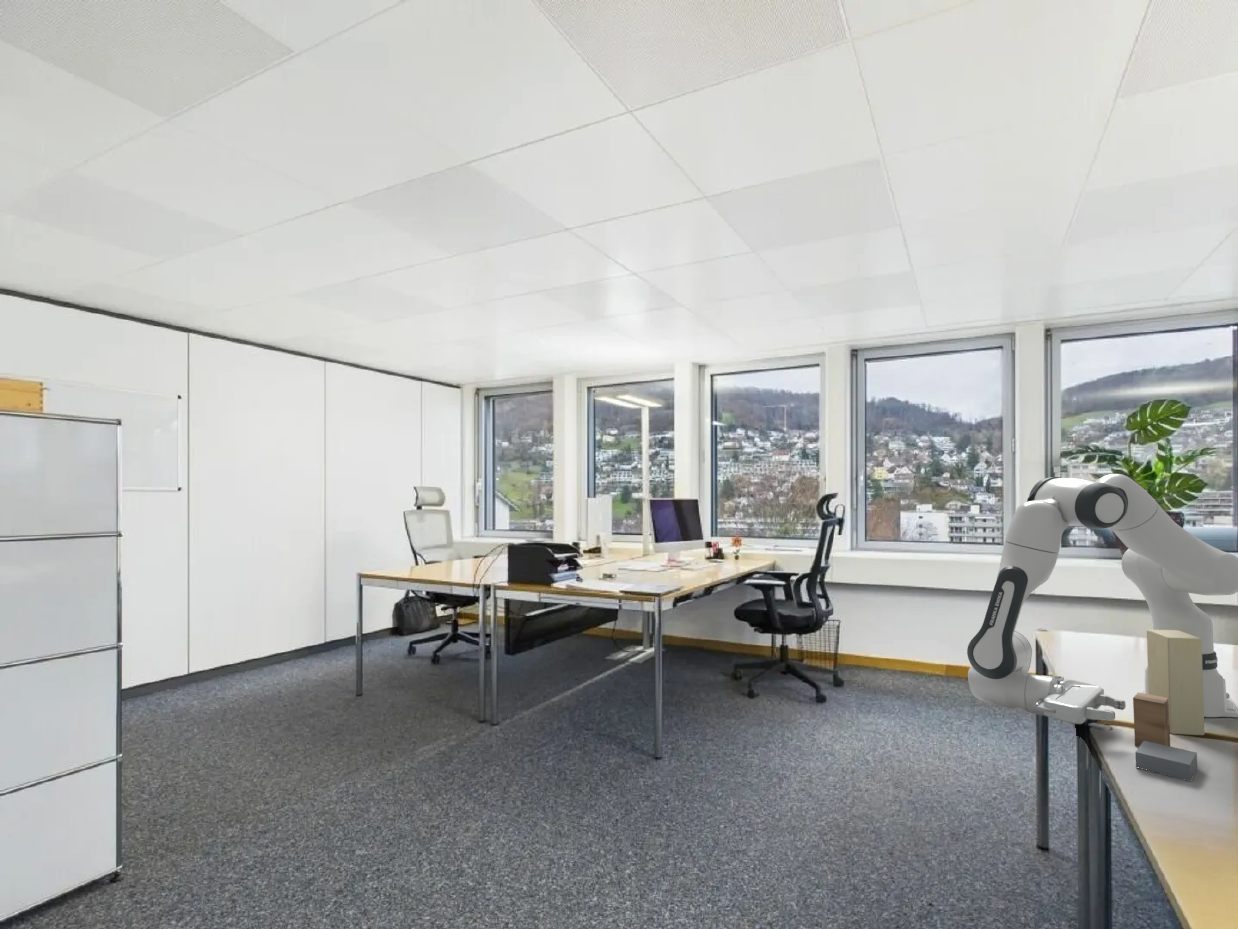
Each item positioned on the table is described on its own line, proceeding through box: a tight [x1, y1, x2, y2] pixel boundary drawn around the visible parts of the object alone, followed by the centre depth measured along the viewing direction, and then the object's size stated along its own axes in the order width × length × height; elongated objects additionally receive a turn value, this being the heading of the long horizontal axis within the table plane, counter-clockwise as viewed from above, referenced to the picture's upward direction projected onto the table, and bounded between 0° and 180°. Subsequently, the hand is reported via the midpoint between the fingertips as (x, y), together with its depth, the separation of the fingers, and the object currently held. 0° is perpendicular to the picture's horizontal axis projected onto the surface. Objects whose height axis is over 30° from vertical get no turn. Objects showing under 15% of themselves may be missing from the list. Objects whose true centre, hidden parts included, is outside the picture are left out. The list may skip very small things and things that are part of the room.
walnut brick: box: [1132, 692, 1171, 747], centre depth 135 cm, size 5×5×10 cm
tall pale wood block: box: [1146, 629, 1205, 736], centre depth 145 cm, size 8×7×21 cm
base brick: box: [1134, 741, 1198, 782], centre depth 125 cm, size 8×8×3 cm
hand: (1119, 711), depth 139 cm, fingers open, 8 cm apart
